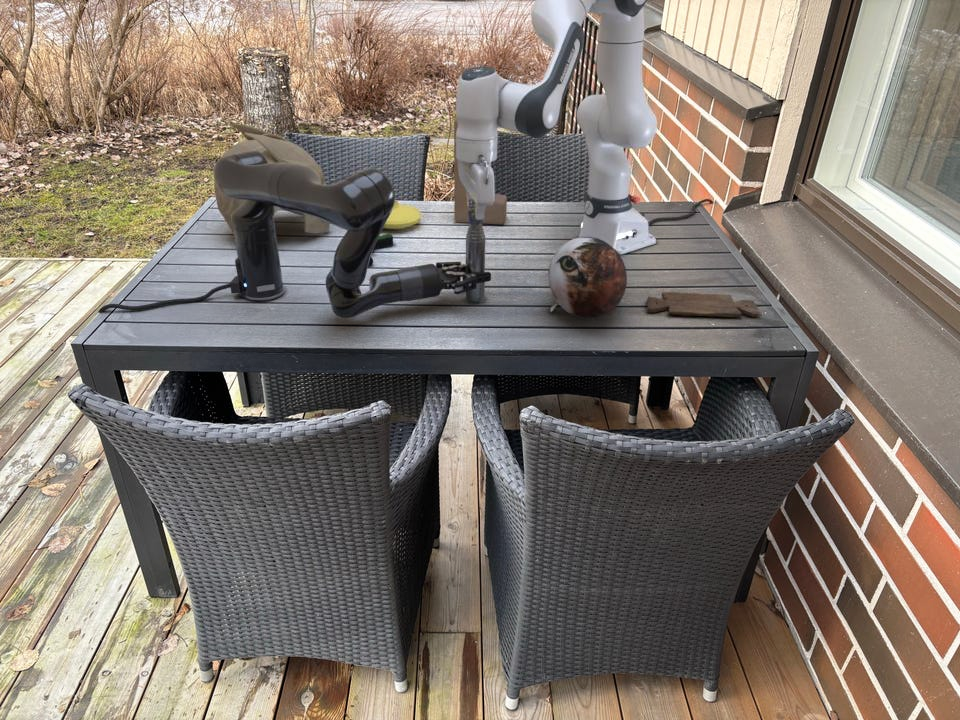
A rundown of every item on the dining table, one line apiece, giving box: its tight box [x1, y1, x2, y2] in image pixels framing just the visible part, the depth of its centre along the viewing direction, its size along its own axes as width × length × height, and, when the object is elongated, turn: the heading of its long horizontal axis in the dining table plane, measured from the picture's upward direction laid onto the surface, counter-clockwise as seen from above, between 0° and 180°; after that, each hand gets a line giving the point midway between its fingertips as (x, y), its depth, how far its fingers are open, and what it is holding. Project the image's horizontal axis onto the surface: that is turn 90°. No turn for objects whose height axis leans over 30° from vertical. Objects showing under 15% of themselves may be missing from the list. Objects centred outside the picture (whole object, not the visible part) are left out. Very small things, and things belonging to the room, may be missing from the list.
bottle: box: [464, 223, 486, 305], centre depth 164 cm, size 4×4×21 cm
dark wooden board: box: [646, 291, 762, 318], centre depth 167 cm, size 26×2×10 cm
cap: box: [466, 210, 485, 225], centre depth 159 cm, size 4×4×2 cm
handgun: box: [368, 233, 394, 267], centre depth 191 cm, size 16×3×15 cm
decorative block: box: [453, 116, 508, 226], centre depth 209 cm, size 8×15×30 cm, turn 82°
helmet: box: [213, 123, 331, 235], centre depth 198 cm, size 27×30×30 cm
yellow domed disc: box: [383, 199, 423, 230], centre depth 210 cm, size 16×16×7 cm
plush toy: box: [547, 236, 628, 319], centre depth 161 cm, size 22×18×20 cm
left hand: (485, 272), depth 167 cm, fingers closed on bottle, 4 cm apart
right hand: (475, 212), depth 159 cm, fingers open, 6 cm apart
